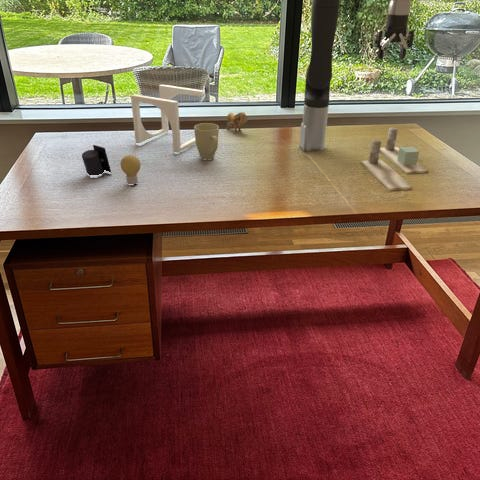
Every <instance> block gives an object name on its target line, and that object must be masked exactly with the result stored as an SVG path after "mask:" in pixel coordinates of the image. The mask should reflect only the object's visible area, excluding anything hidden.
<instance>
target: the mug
mask: <svg viewBox="0 0 480 480" xmlns="http://www.w3.org/2000/svg"><path fill="white" fill-rule="evenodd" d="M193 129H194V138H195V140H196V145H195V146H196V149H197V151H198V155H199V157H200V159H201V158H202V159H206V160H205V161H209V160H208V159H212V160H213V159H214V158H215V155H216V151H217V150H218V146H219V130H220V127H219V125H218V124H215V123H211V122H203V123H198V124H195V125H194V127H193ZM202 159H201V160H202Z"/></svg>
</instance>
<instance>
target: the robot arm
mask: <svg viewBox="0 0 480 480" xmlns="http://www.w3.org/2000/svg"><path fill="white" fill-rule="evenodd" d="M411 2H412V1H411V0H390V1H389V4H388V9H387V17H386V23H385V29H384V30H381V29H377V31H376V35H375V39H374V45H373V46H374V47H375V48H377V49H378V53H377V58H378V60H379V61H382V60H384V59H383V58H384V53H385V48H386V47H387V46H388V45H389V44H390V43H391V44H394V43H396V44H398V43H399V44H400V46H401V48H400V52H399V59H400V60H404V59H405V58H406V54H407V50H408V48H412V47H413V44H414V43H413V42H414V34H415V31H414V30H413V29H407V28H408V23H409V16H410V11H411ZM339 11H340V0H312V4H311V15H310V16H311V17H310V35H311V53H310V58H309V64H308V66H307V68H306V74H305V84H304V85H305V87H304V100H303V101H304V103H303V112H302V113H303V114H302V122H300V131H299V133H300V134H299V144H298V145H299V148H301V149H302V151H303V152H316V151H317V152H318V151H323V150H325V143H326V135H327V125H328V117H329V116H328V114H329V103H330V92H331V91H330V90H331V89H330V88H331V81H332V79H333V50H334V49H333V48H334V42H335V37H336V33H337V29H338V27H337V26H338V20H339V13H340V12H339ZM383 36H384V38H383ZM405 37H406V40H405ZM382 38H383V39H382Z"/></svg>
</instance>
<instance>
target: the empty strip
mask: <svg viewBox="0 0 480 480" xmlns="http://www.w3.org/2000/svg"><path fill="white" fill-rule="evenodd" d="M370 147H371V148H370V154H369V160H360V164H361V165H362V166H363V167H364V168H365V169H366V170H367V171H368V172H369V173H371V175H372V176H374V178H375V179H376V180H378V181H379V182H380V183H381V184H382V185H383V186H384V187H385V188H386V189H387V190H388V191H392V192H393V191H402V190H403V191H404V190H405V191H406V190H412V189H413V185H411V184H410V183H409V182H408V181H406V179H404V178H403V177H402V176H401V175H399V173H397V172H396V171H395V170H394V169H393V168H392V167H391V166H389V164H387V163H386V162H385V161H383V160H382V159H380V153H381V152H380V148H382V140H380V139H372V141H371V146H370Z"/></svg>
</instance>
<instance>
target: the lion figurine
mask: <svg viewBox="0 0 480 480" xmlns="http://www.w3.org/2000/svg"><path fill="white" fill-rule="evenodd" d="M226 117H227V120H226V123H224V124H223V125H224V126H226V127H227V128H226V129H227V130H230V127H233V126H234V133H235V134H238V132H240V133H241V132H243V131H242V127H243V125H244V124H246V122H248V121H249V119H250V118H249V116H247V115H246V112H245V111H241V112H239V113H236V114H234V113H233V112H229V113H228V114H227V116H226Z"/></svg>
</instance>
